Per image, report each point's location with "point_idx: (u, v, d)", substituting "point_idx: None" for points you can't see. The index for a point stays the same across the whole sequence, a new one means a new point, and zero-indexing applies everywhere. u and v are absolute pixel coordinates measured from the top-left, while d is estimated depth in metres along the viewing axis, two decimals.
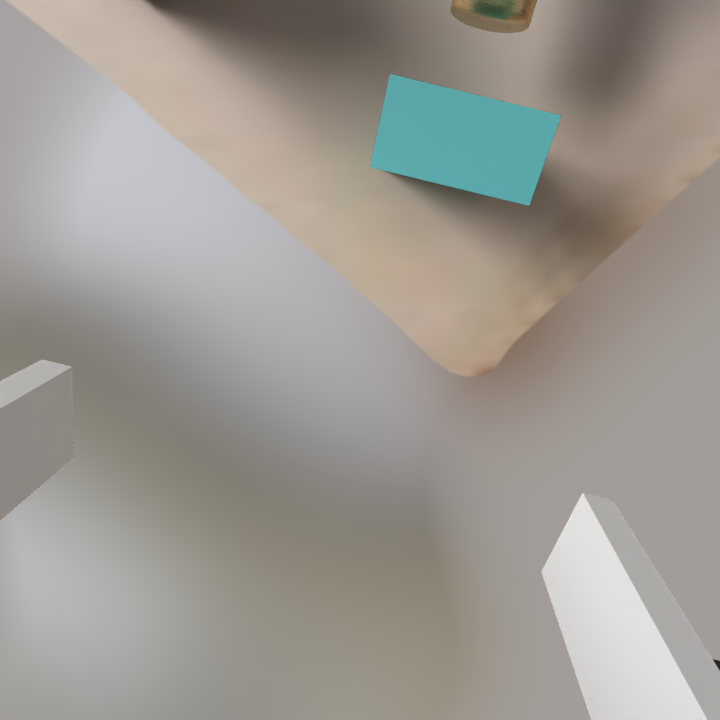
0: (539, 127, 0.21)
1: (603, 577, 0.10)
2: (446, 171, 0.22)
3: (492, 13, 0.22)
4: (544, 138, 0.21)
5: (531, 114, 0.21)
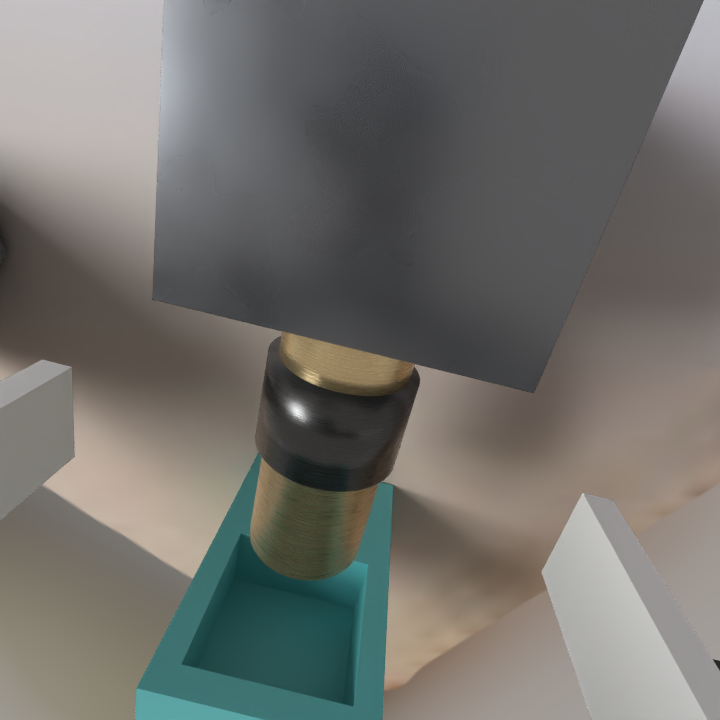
0: None
1: (603, 577, 0.10)
2: None
3: None
4: None
5: None
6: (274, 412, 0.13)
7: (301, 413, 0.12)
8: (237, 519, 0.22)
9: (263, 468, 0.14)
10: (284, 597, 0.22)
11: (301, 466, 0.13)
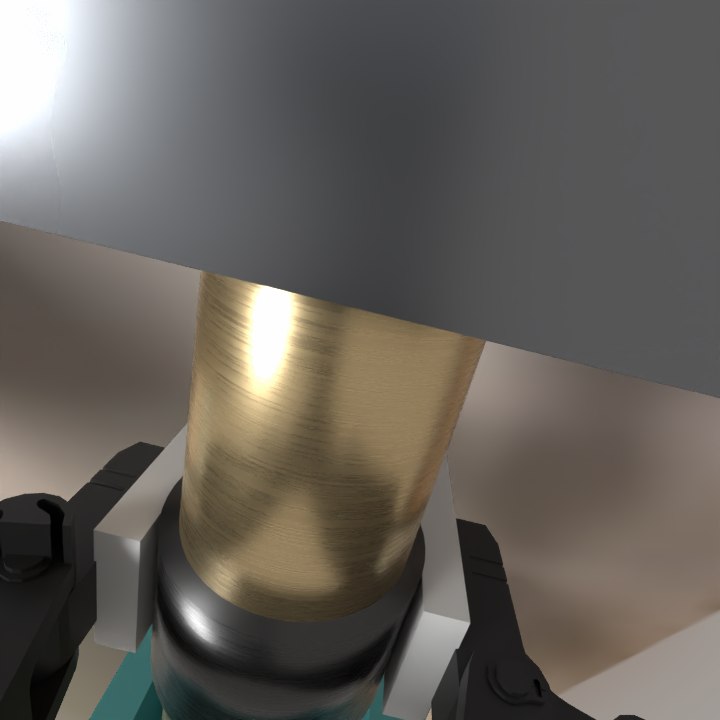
0: None
1: None
2: None
3: None
4: None
5: None
6: (164, 630, 0.07)
7: (205, 652, 0.06)
8: None
9: None
10: None
11: None
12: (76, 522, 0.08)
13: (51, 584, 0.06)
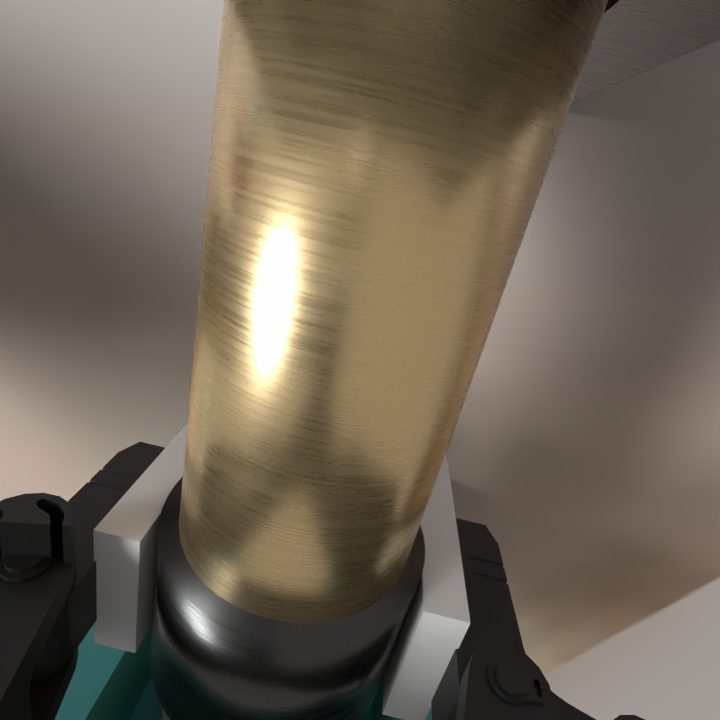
0: None
1: None
2: None
3: None
4: None
5: None
6: (164, 631, 0.07)
7: (205, 653, 0.06)
8: None
9: None
10: None
11: None
12: (76, 522, 0.08)
13: (51, 584, 0.06)
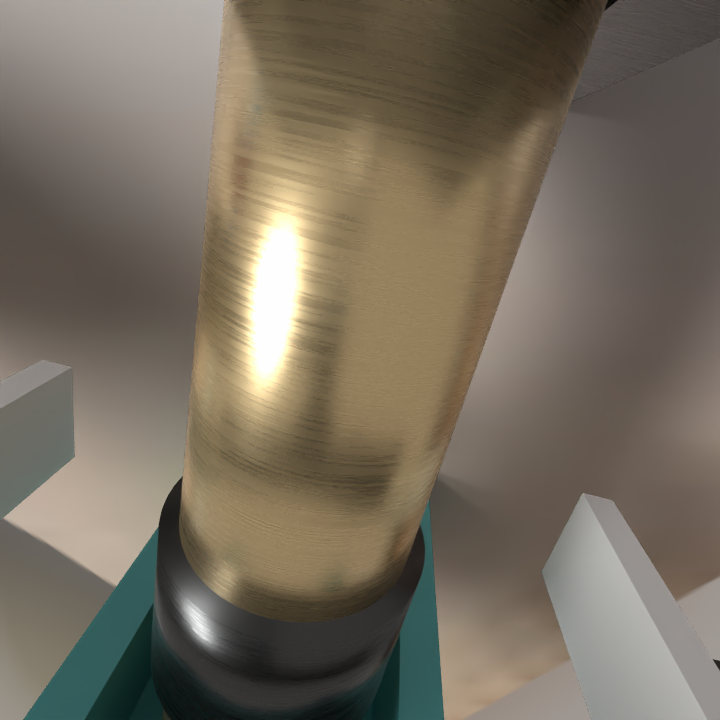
0: None
1: (604, 577, 0.10)
2: None
3: None
4: None
5: None
6: (164, 631, 0.07)
7: (205, 653, 0.06)
8: None
9: None
10: None
11: None
12: None
13: None
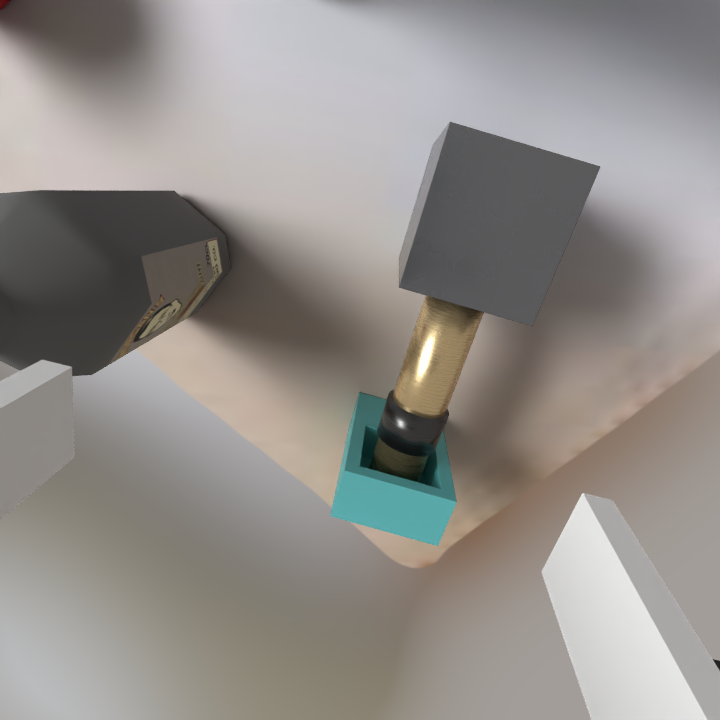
0: (442, 506, 0.32)
1: (604, 577, 0.10)
2: (381, 523, 0.32)
3: None
4: (446, 512, 0.32)
5: (437, 499, 0.31)
6: (393, 423, 0.32)
7: (405, 424, 0.32)
8: (361, 419, 0.38)
9: (380, 447, 0.34)
10: None
11: (402, 445, 0.32)
12: None
13: None
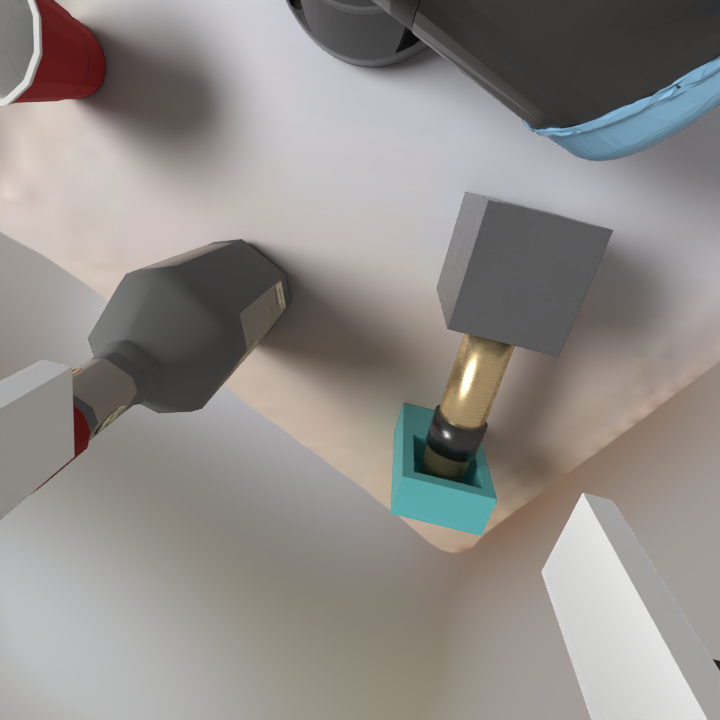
0: (485, 503, 0.38)
1: (603, 577, 0.10)
2: (433, 518, 0.39)
3: None
4: (488, 508, 0.38)
5: (480, 498, 0.38)
6: (440, 435, 0.38)
7: (452, 436, 0.38)
8: (409, 429, 0.45)
9: (429, 455, 0.40)
10: None
11: (449, 453, 0.38)
12: None
13: None
